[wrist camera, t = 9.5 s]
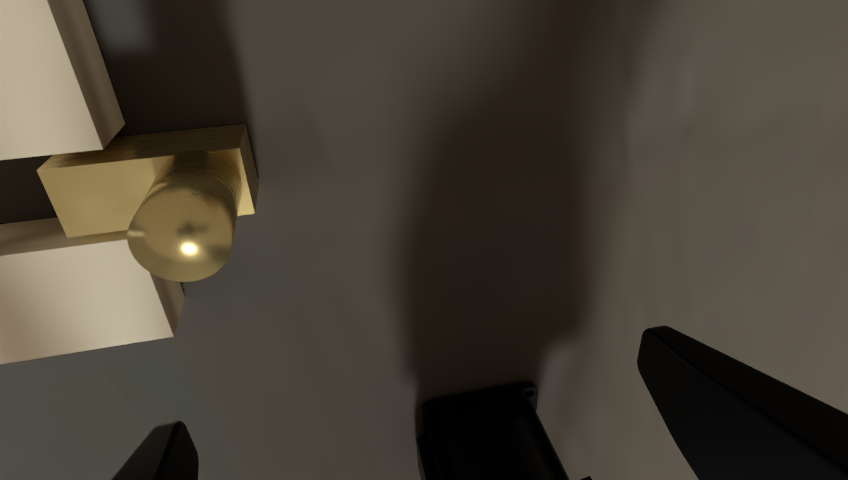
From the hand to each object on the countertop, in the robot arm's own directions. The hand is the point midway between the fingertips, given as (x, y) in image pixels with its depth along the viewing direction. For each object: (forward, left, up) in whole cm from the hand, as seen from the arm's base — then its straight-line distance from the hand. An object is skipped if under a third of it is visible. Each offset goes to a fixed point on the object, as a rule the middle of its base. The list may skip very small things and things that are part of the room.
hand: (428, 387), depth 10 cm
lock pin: (+7, 0, -13) cm, 15 cm away
